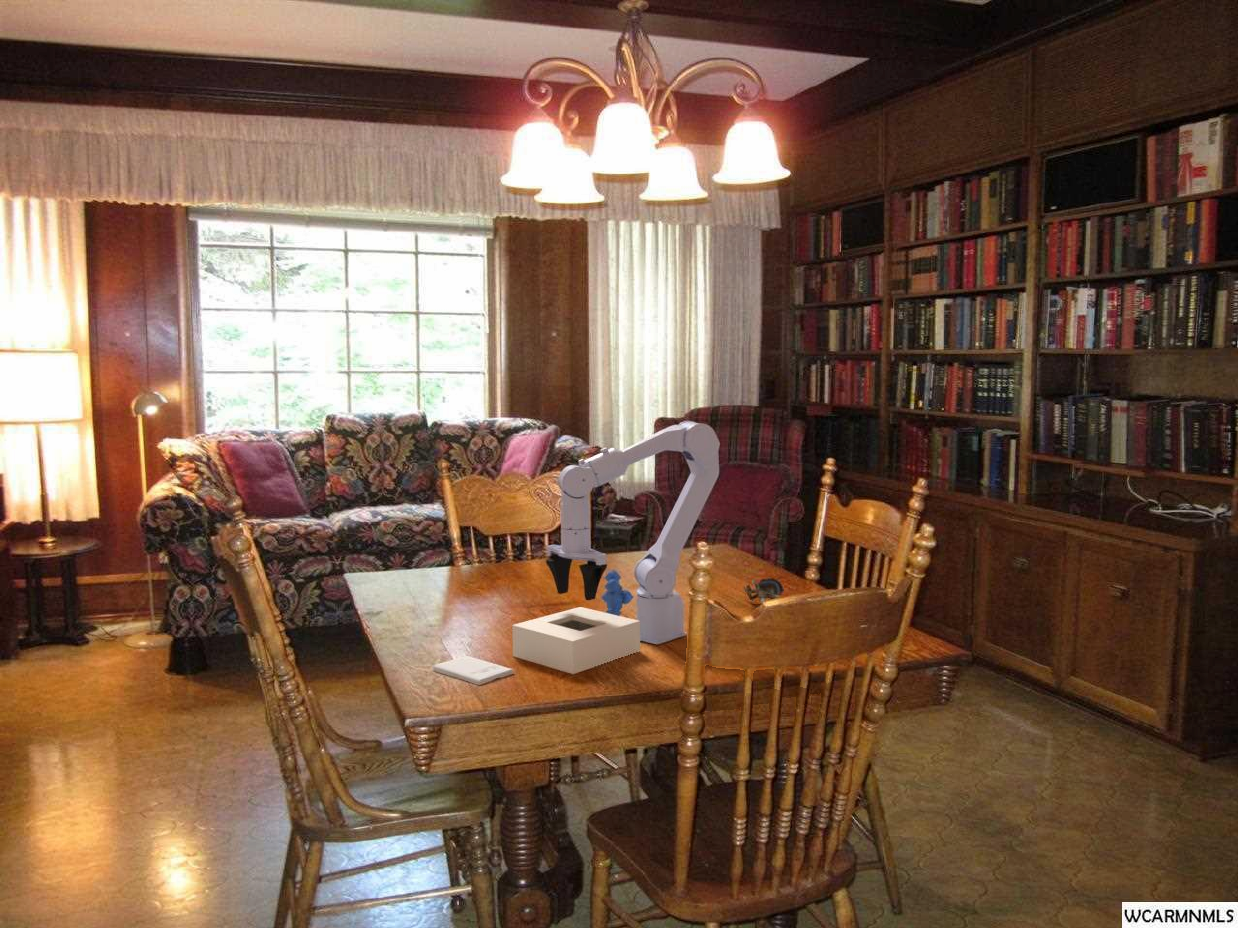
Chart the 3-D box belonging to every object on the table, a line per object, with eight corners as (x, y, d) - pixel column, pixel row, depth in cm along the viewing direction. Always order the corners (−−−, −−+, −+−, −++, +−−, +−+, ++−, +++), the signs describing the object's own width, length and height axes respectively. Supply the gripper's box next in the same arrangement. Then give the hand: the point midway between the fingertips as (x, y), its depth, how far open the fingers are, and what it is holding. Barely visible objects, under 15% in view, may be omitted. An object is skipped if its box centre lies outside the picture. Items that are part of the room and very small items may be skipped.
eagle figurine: (744, 603, 220) (784, 599, 217) (742, 574, 223) (781, 568, 221) (751, 615, 226) (790, 610, 224) (749, 585, 230) (788, 580, 227)
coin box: (580, 635, 200) (580, 606, 199) (640, 651, 189) (640, 620, 188) (512, 656, 186) (512, 624, 186) (572, 674, 176) (572, 641, 175)
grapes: (634, 632, 202) (634, 574, 200) (601, 632, 202) (600, 574, 200) (633, 617, 213) (632, 562, 212) (601, 617, 213) (601, 562, 212)
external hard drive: (467, 663, 184) (514, 676, 176) (433, 673, 178) (479, 688, 170) (467, 654, 184) (513, 667, 176) (432, 665, 178) (479, 679, 170)
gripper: (535, 525, 194) (536, 593, 196) (588, 534, 184) (588, 606, 186) (561, 521, 199) (561, 587, 201) (613, 529, 189) (614, 599, 191)
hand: (576, 596), depth 194 cm, fingers open, 7 cm apart
